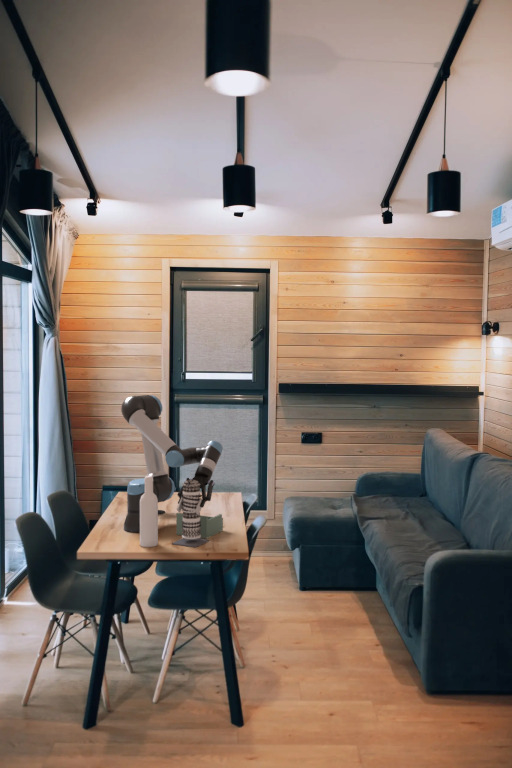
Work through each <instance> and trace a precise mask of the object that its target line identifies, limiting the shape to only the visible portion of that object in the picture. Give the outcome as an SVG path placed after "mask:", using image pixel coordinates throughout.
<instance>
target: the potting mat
mask: <svg viewBox="0 0 512 768" xmlns="http://www.w3.org/2000/svg"><path fill="white" fill-rule="evenodd" d="M208 542H210V539H209V538H207V539H206V538H197V539H185V538H182V537H181V538H180V539H178V540H176V541H174V542H172V543H171V545H175V546H180V547H189V548H198V547H200V546H202V545H204V544H206V543H208Z"/></svg>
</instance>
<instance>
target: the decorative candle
mask: <svg viewBox="0 0 512 768" xmlns="http://www.w3.org/2000/svg"><path fill="white" fill-rule="evenodd" d="M181 485H182V487H183V494H182V495H181V497H182V500H181V501H182V503H181V504H182V505H183V506H182V510H181V512H182V513H183V521H182V523H183V524H182V527H183V528H182V535H181V539H182V538H185V539H197V538H200V537H201V535H200V534H201V531H200V530H201V528H200V526H201V524H200V523H201V521H200V515H201V511H202V509H201V510H200V513H199V515H197V513H196V512H195V510H196V508H197V505H198V503H199V500H200V499H202V493H201V488H200V483H199V482H198V481H197V480H185V481H184V483H182V484H181Z"/></svg>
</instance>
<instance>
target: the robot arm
mask: <svg viewBox="0 0 512 768" xmlns="http://www.w3.org/2000/svg"><path fill="white" fill-rule="evenodd" d="M120 410H121V411H120V412H121V415H122V417H123V419H124V420H125V421H126V422H127V423H128V425H130V426H134V427H135V428H136V430H138V431H139V432H140V434H141V441H142V447H143V454H144V460H145V466H146V467H145V468H146V475H145V476H144V477H143V478H142V477H141V478H135V479H132V480H130V481H128V483H127V490H126V493H127V494H126V500H127V501H126V502H127V504H126V506H127V508H126V509H127V510H126V511H127V512H126V517H125V519H124V521H123V522H124V523H123V530H124V531H125V532H131V533H140V499H141V496H142V495H143V494H144V493H145V481H144V479H145V477H146V476H152V477H153V493H154V494H155V495H156V496H157V499H158V503H163V502H166V501H168V500H170V499H171V498H172V497H173V495H174V493H175V489H176V487H175V482H174V480H173V479H172V478H171V477H169V473H168V472H167V471H166V470H165V468H164V460H163V459H164V458H163V456H164V457H165V463H166V465H167V466H169V468H170V467H171V468H180V467H183V466H189V465H193V464H194V465H195V464H198V466H197V468H196V470H195V473H194V475H193V477H192V478H189V477H187V478H186V480H197V481H198V482H199V483H200V491H201V495H202V497H201V499H200V500H199V503H198V505H197V508H196V510H195V512H196V513H197V515H199V513H200V514H201V511H202V508H204V507H205V504H206V502H211V500H212V493H213V490H214V489H213V488H214V486H215V482H214V480H213V479H212V476H213V473H214V471H215V469H216V466H217V464H218V462H219V459H220V457H221V455H222V452H223V449H224V448H223V445H222V444H221V443H220V442H219V441H216V440H210V441H208V443H207V445H205V446H199V447H188V448H184V449H182V448H180V446H179V445H177V443H175V442H174V440H172V439H171V438H170V437H169V436H168V435H167V433H165V432H164V431H163V430H162V429H161V428H160V427H159V426H158V423H159V422H160V415H162V413H163V404H162V402H161V400H160V399H159V398H158V397H157V396H156V395H149V394H142V395H130V396H129V397H126V398H125V399H124V400H123V402H122V403H121V409H120ZM186 480H185V481H186ZM207 485H208V486H207ZM206 486H207V488H206ZM206 491H207V492H206ZM182 494H183V486H182V487H181V488H180V489H179V490H178V492H177V496H178V498H179V499H178V501H177V504H178V505H177V507H176V511H177V513H182V506H183V505H182V504H181V503H182V501H181V500H182V497H181V495H182ZM200 510H201V511H200Z"/></svg>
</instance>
